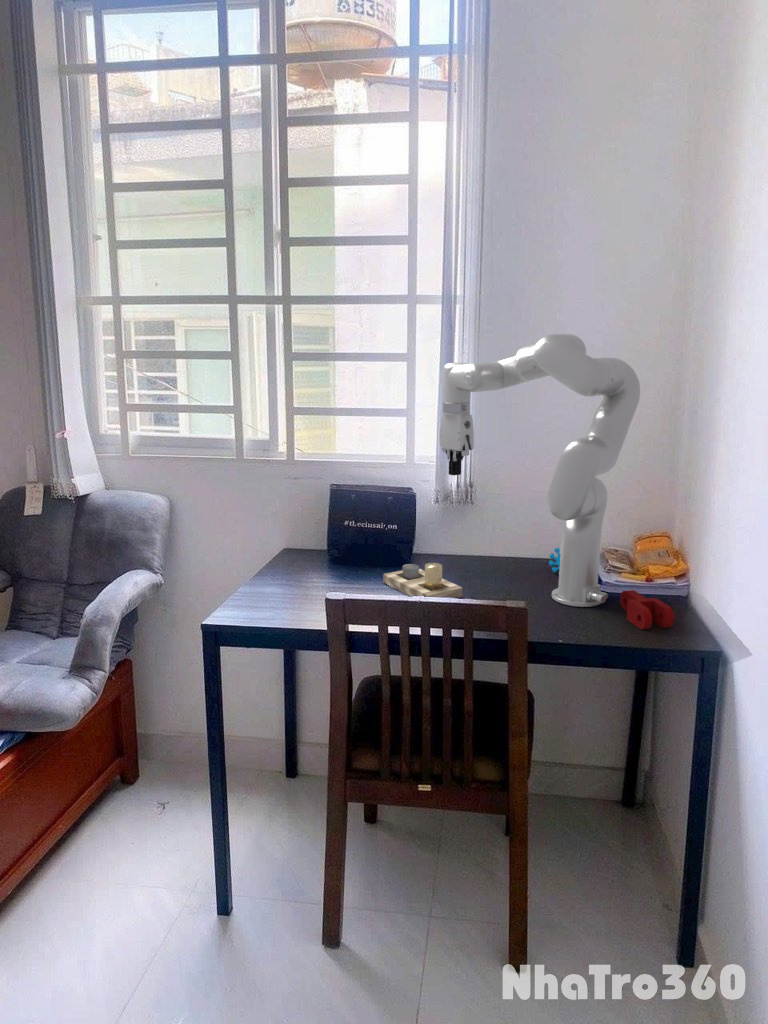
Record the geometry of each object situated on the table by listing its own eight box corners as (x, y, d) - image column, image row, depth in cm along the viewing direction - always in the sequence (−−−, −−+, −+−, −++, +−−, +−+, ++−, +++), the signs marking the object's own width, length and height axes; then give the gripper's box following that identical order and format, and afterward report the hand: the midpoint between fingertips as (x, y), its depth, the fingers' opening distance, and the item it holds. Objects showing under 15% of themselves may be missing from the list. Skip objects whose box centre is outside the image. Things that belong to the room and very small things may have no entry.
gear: (542, 568, 205) (556, 539, 209) (545, 578, 210) (558, 549, 214) (581, 580, 200) (594, 550, 204) (582, 590, 205) (595, 560, 208)
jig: (462, 596, 187) (462, 578, 186) (427, 605, 181) (427, 585, 180) (416, 575, 204) (416, 558, 202) (383, 582, 198) (383, 565, 197)
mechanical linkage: (673, 630, 167) (675, 609, 165) (644, 632, 165) (645, 611, 164) (637, 606, 182) (638, 586, 181) (610, 607, 181) (611, 588, 179)
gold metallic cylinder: (445, 596, 188) (445, 566, 186) (431, 599, 185) (431, 569, 184) (434, 591, 191) (435, 561, 190) (421, 594, 189) (421, 564, 187)
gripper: (484, 410, 197) (482, 477, 201) (450, 406, 209) (448, 469, 213) (463, 411, 193) (461, 480, 197) (429, 407, 205) (428, 471, 209)
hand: (454, 474), depth 205 cm, fingers closed
